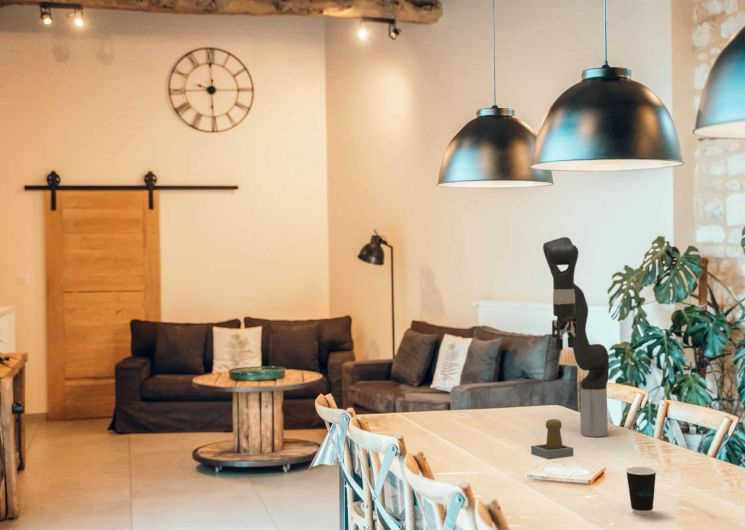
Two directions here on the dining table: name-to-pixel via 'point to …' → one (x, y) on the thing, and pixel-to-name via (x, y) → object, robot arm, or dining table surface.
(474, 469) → the dining table surface
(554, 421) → the olive game piece
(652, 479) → the dixie cup
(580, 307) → the robot arm
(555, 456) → the tray
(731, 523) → the dining table surface
